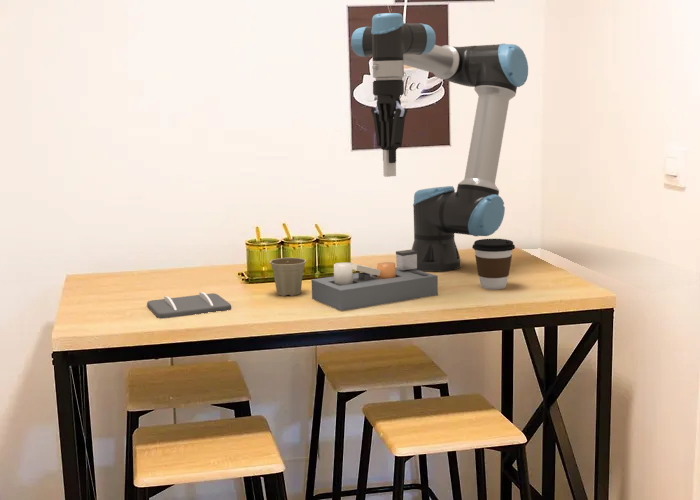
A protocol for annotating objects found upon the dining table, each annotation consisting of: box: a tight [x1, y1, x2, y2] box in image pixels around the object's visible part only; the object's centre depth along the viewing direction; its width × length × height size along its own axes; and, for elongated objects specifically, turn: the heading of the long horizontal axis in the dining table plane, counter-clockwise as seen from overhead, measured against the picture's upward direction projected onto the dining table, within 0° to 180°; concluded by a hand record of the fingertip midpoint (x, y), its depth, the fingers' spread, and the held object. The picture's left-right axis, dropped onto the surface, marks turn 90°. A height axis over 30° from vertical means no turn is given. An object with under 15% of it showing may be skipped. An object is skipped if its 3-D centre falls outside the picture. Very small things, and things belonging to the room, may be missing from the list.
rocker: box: [348, 262, 381, 276], centre depth 229 cm, size 4×7×1 cm, turn 120°
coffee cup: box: [472, 238, 516, 291], centre depth 239 cm, size 11×11×12 cm
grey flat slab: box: [146, 291, 232, 319], centre depth 226 cm, size 18×3×15 cm
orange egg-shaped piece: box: [376, 261, 396, 279], centre depth 233 cm, size 5×5×6 cm
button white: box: [333, 262, 354, 286], centre depth 226 cm, size 5×5×6 cm
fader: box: [395, 249, 417, 270], centre depth 238 cm, size 3×5×4 cm
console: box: [311, 266, 439, 312], centre depth 231 cm, size 15×28×6 cm, turn 120°
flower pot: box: [269, 257, 307, 297], centre depth 237 cm, size 9×9×9 cm
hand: (389, 176), depth 227 cm, fingers closed
